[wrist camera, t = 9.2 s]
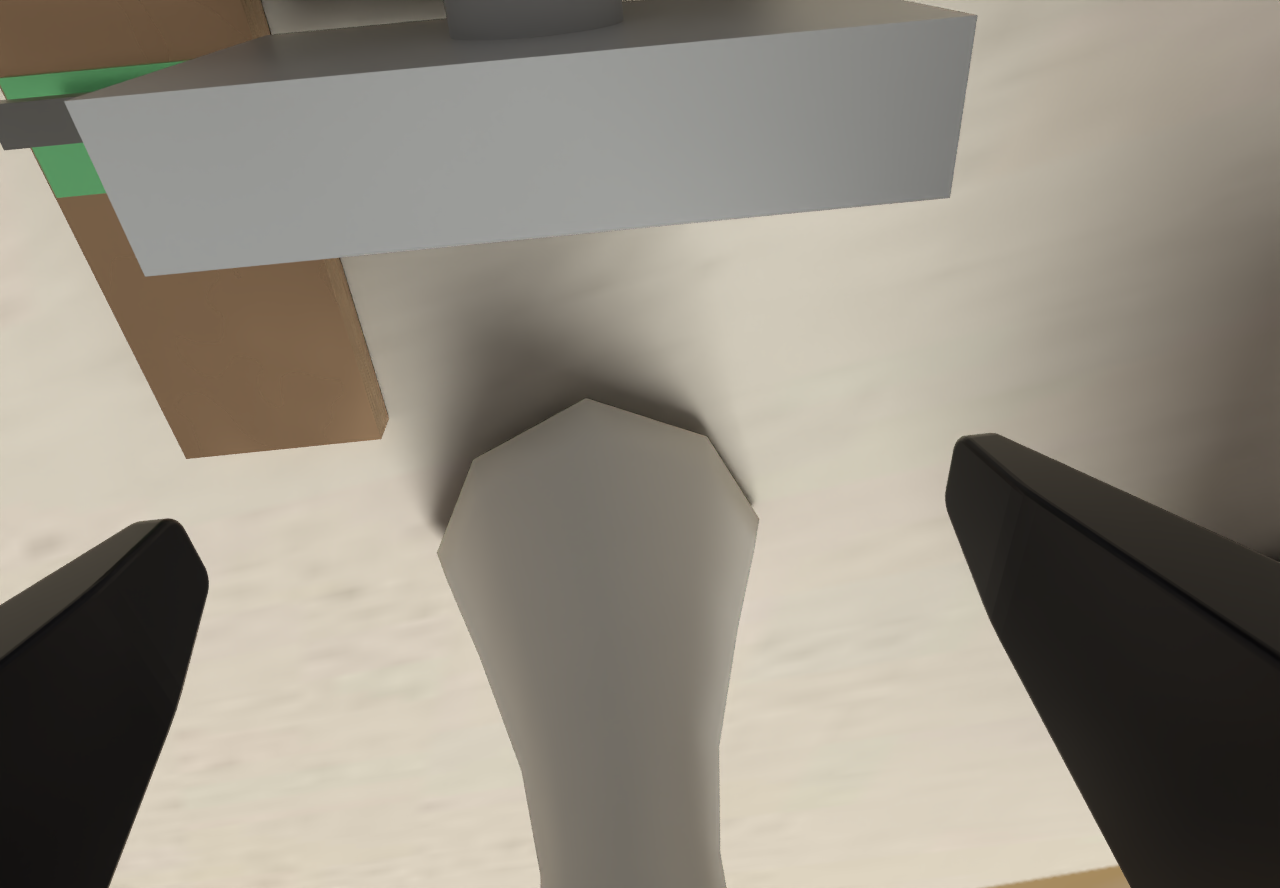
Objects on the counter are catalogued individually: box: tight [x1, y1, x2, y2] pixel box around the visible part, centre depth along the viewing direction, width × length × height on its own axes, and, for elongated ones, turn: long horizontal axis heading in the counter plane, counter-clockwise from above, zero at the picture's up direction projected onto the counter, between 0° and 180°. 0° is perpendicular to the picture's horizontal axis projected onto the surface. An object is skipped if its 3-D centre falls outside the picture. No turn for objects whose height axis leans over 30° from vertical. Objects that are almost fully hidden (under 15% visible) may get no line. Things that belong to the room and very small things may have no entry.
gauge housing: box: [0, 0, 389, 459], centre depth 10 cm, size 14×13×6 cm
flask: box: [437, 398, 759, 888], centre depth 14 cm, size 7×7×10 cm
